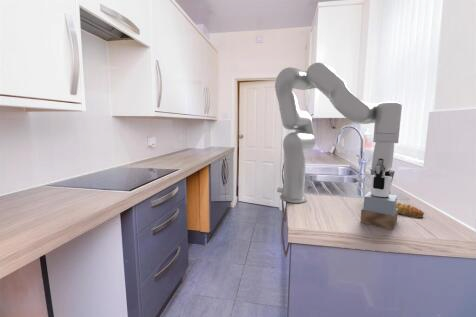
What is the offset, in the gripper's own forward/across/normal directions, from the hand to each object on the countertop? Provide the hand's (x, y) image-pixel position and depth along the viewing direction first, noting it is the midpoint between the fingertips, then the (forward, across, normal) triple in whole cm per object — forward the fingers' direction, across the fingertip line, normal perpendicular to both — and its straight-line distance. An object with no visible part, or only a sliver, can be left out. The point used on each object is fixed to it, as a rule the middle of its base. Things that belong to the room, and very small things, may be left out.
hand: (381, 186), depth 85 cm
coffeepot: (+14, -27, -4) cm, 30 cm away
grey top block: (+9, 0, 0) cm, 9 cm away
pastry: (+14, -17, +7) cm, 23 cm away
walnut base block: (+14, 0, 0) cm, 14 cm away
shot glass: (+4, 0, 0) cm, 4 cm away
